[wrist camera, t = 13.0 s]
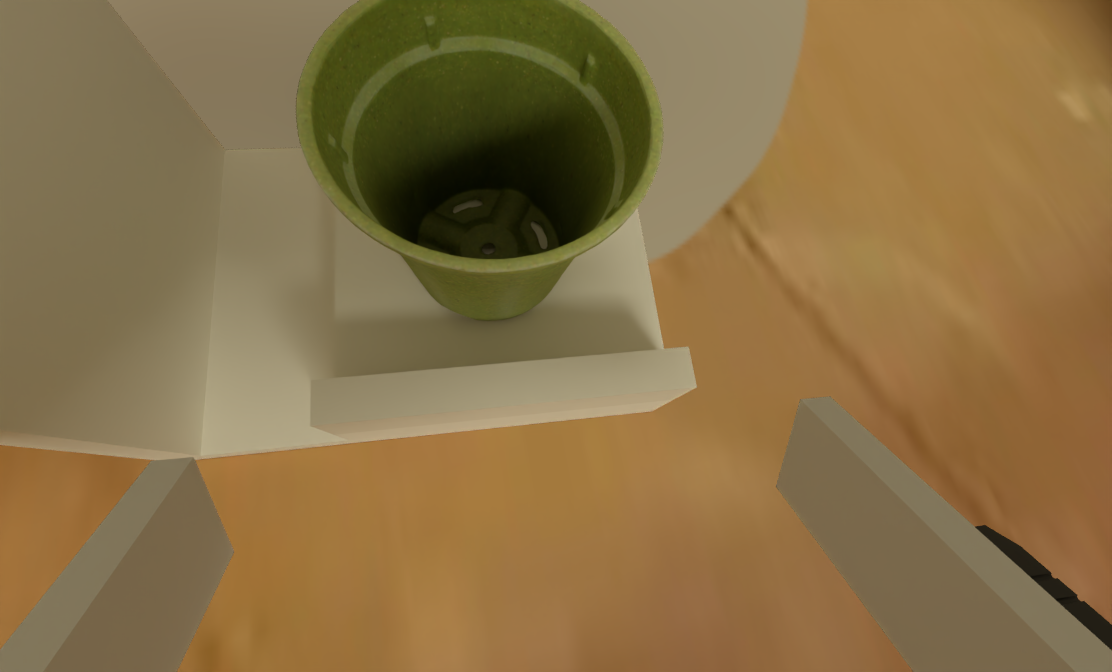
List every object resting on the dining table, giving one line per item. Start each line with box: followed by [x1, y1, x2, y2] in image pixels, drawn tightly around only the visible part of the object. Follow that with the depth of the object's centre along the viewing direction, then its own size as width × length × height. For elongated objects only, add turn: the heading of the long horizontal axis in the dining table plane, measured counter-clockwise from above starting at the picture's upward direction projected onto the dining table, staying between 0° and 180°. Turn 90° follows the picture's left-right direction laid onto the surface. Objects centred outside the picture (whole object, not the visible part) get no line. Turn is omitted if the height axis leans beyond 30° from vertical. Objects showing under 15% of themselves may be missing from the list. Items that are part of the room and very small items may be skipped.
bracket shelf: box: [0, 0, 697, 460], centre depth 14 cm, size 14×20×20 cm
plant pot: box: [296, 0, 664, 321], centre depth 17 cm, size 9×9×9 cm
